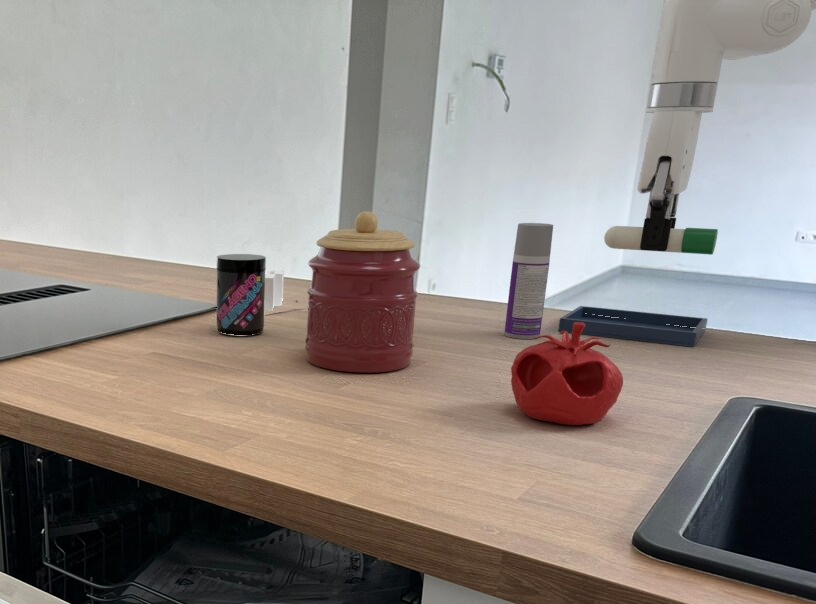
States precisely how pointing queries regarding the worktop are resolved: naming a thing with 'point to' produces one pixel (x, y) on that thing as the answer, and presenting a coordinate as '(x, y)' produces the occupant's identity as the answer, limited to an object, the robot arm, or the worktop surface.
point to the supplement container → (240, 293)
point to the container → (528, 280)
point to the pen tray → (636, 325)
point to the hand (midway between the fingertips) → (655, 247)
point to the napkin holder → (273, 288)
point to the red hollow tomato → (565, 380)
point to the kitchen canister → (362, 299)
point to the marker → (678, 242)
